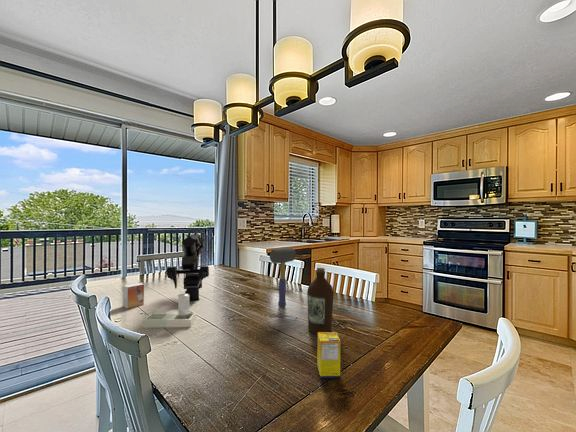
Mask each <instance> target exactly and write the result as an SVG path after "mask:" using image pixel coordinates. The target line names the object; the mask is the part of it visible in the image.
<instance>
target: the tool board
mask: <svg viewBox="0 0 576 432" xmlns="http://www.w3.org/2000/svg"><path fill="white" fill-rule="evenodd" d="M196 320H197V312H189V319H178V312H150V313H149V314H148V315H147V316H146V317H145V318H143V319H142V322H141V323H142V326H141V327H142V328H143V329H145V328H147V329H148V328H153V329H154V328H191V327H192V326H193V325H194V323H195V322H196Z"/></svg>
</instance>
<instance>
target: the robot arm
mask: <svg viewBox="0 0 576 432" xmlns="http://www.w3.org/2000/svg"><path fill="white" fill-rule="evenodd" d="M181 246H182V248H183V249H182V250H183V253H184V256H182V257H181V269H178V268H177V266H167V268H166V269H165V270H166V271H165V272H166V277H167V278H168V279H170V280H172V281H173V284H174V289H177V287H178V275H185V277H183V290H185V291H184V293H187V294H190V296H189V302H194V301H200V298H199V297H200V289H202V288H203V280H204V279H206V278H208V277H209V275H210V268H209V266H208V265H201V266H199V260H200V255H201V254H202V253H203V251H204V250H203V249H205V240H204V238H203V237H202V236H201V234H195V233H193V234H191V235H188V236H186V237H185V238H184V239H183V240H182V241H181Z"/></svg>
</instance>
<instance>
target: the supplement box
mask: <svg viewBox="0 0 576 432" xmlns="http://www.w3.org/2000/svg"><path fill="white" fill-rule="evenodd" d="M316 354H317V356H316V357H317V358H316V359H317V363H316V364H317V365H316V368H317V371H319V372H318V375H320V376H319V379H320V378H321V379H337V378H336V377H340V378H341V338H339V334H338V333H337V331H334V332H333V331H331V332H318V334H317V353H316Z"/></svg>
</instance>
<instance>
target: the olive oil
mask: <svg viewBox="0 0 576 432" xmlns="http://www.w3.org/2000/svg"><path fill="white" fill-rule="evenodd" d="M325 270H326V269H325V268H324V267H317V268H316V278H315V279H314V280H313V281H312V282H311V283H309V285H308V288H307V292H306V293H307V294H306V295H307V325H308V327H307V328H308V329H309V330H308V331H309V332H310V333H311V332H312V334H314V333H315V334H314V335H318V332H333V331H332V330H333V329H332V327H333V310H334V309H333V307H334V298H335V295H334V293H335V291H334V288H333V286H332V285H331V283H330V282H329V281H328V280H327V278H326V272H325Z"/></svg>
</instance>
